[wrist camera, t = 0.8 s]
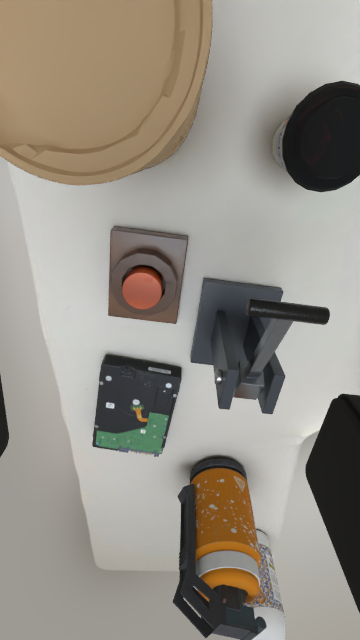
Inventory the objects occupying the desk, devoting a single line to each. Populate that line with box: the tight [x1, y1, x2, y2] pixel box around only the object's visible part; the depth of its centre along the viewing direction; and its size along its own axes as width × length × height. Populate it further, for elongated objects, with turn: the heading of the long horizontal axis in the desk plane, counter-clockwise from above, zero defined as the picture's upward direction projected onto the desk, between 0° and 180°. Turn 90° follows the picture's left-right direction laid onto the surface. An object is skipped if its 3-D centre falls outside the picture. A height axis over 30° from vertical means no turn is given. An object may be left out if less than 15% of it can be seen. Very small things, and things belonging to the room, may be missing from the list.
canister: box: [173, 459, 267, 640], centre depth 43 cm, size 9×11×20 cm
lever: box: [233, 298, 330, 400], centre depth 27 cm, size 12×6×2 cm, turn 173°
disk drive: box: [93, 355, 181, 457], centre depth 45 cm, size 10×3×15 cm
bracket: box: [191, 278, 285, 414], centre depth 34 cm, size 11×9×13 cm
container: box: [0, 0, 212, 185], centre depth 21 cm, size 13×13×18 cm
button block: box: [108, 227, 188, 324], centre depth 36 cm, size 10×8×4 cm
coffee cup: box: [272, 81, 360, 192], centre depth 26 cm, size 7×7×10 cm
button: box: [122, 267, 163, 309], centre depth 34 cm, size 4×4×2 cm
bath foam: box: [243, 530, 285, 640], centre depth 52 cm, size 7×7×20 cm
